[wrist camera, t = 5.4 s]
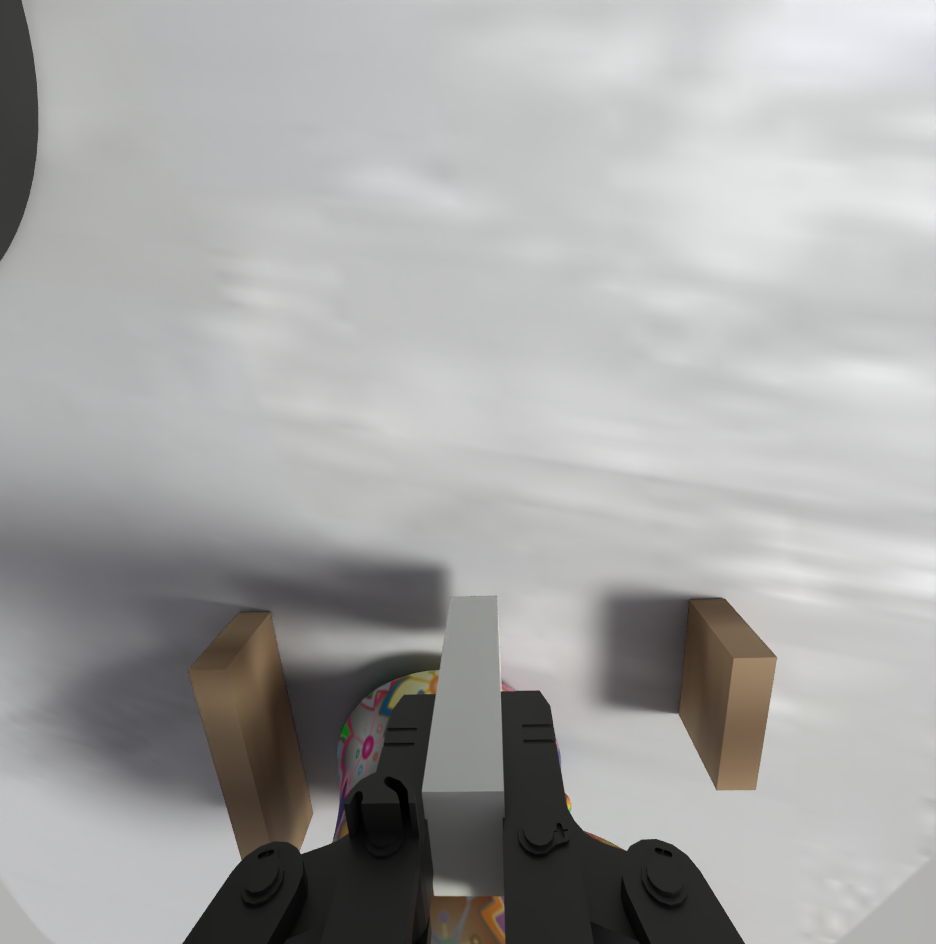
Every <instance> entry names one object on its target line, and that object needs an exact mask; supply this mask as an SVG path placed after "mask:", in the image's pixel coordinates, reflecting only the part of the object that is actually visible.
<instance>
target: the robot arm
mask: <svg viewBox="0 0 936 944" xmlns="http://www.w3.org/2000/svg"><path fill="white" fill-rule="evenodd" d="M37 140H38V97H37V82H36V74H35V66H34V58H33V52H32V46H31V41H30V36H29V30H28V26H27V22H26V18H25V13H24V9H23V5H22V1H21V0H0V261H1V259H2V257H3V256H4V254H5V253H6V251H7V249H8V248H9V246H10V244H11V242H12V240H13V238H14V236H15V234H16V232H17V229H18V227H19V224H20V222H21V219H22V217H23V214H24V211H25V208H26V204H27V201H28V198H29V194H30V189H31V185H32V180H33V176H34V169H35V161H36V154H37ZM383 744H384V745H383V747H382V751H381V755H380V758H379V762H378V766H377V770H376V772H375V773H372V774H370V775H369V776H367V777H365V778H363V779H361V780H360V781H359V782H358V783H357V784H356V785H355V786H354V787H353V788H352V789H351V790H350V792H349V793H348V795H347V797H346V799H345V801H344V803H343V805H344V810H345V816H346V821H347V826H348V832H349V833H348V834H346V835H345V836H344V837H342V838H341V839H339V840H338V841H335V842H333V843H331V844H329V845H326V846H324V847H321V848H318V849H315V850H312V851H309V852H307V853H304V854H300V852H299V850H298V848H297V847H295V846H294V845H292V844H290V843H289V842H278V841H274V842H271V843H268V844H265V845H262V846H260V847H258V848H257V849H255V850H254V851H253V852H251V853H250V854H248V855H247V856H245V857H244V859H243V860H242V861H241V862H240V863H239V864H238V865H237V866H236V868H235V869H234V870H233V871H232V873H231V874H230V875H229V877H228V878H227V880H226V881H225V883H224V884H223V886H222V887H221V888H220V890H219V891H218V893H217V894H216V896H215V897H214V899H213V900H212V902H211V903H210V904H209V906H208V907H207V909H206V910H205V912H204V913H203V915H202V916H201V918H200V919H199V920H198V922H197V923H196V925H195V926H194V928H193V929H192V931H191V932H190V933H189V935H188V936H187V938H186V939H185V941H184V942H183V944H431V935H432V931H431V917H430V904H431V894H432V885H433V890H434V896H504V913H505V944H745V943H744V941H743V940H742V938H741V937H740V935H739V933H738V932H737V930H736V928H735V927H734V925H733V924H732V922H731V920H730V919H729V917H728V915H727V914H726V912H725V911H724V909H723V907H722V906H721V904H720V903H719V901H718V899H717V898H716V896H715V894H714V893H713V891H712V890H711V888H710V886H709V885H708V883H707V881H706V880H705V878H704V877H703V875H702V873H701V872H700V870H699V869H698V868H697V867H696V865H695V864H694V863H693V862H692V860H691V859H690V858H689V857H688V856H687V855H686V854H685V853H683V852H682V851H681V850H679V849H678V848H676V847H675V846H674V845H672V844H669V843H666V842H663V841H660V840H657V839H648V840H640V841H639V842H637V843H635V844H633V845H631V846H630V847H629V849H628V851H625V850H622V849H620V848H617V847H614V846H611V845H608V844H605V843H603V842H601V841H599V840H596V839H594V838H592V837H591V836H590V835H588V834H587V833H586V832H584V831H583V830H582V829H581V828H580V827H579V825H578V824H577V823H576V822H575V821H574V819H573V817H572V816H571V814H570V812H569V809H568V806H567V803H566V798H565V792H564V786H563V780H562V774H561V768H560V762H559V756H558V750H557V744H556V738H555V732H554V728H553V720H552V714H551V708H550V705H549V704H548V702H547V701H546V699H545V698H544V696H543V695H542V694H541V692H540V691H502V686H501V661H500V642H499V622H498V603H497V596H470V597H450V603H449V610H448V616H447V623H446V630H445V637H444V644H443V650H442V657H441V664H440V671H439V678H438V684H437V691H436V694H409V695H403V696H402V698H401V699H400V700H399V702H398V703H397V704H396V706H395V707H394V708H393V710H392V712H391V716H390V720H389V724H388V727H387V732H386V735H385V739H384V743H383Z"/></svg>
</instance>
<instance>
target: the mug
mask: <svg viewBox="0 0 936 944" xmlns="http://www.w3.org/2000/svg"><path fill="white" fill-rule="evenodd" d="M439 671H440V670H432V671H424V672H418V673H414V674H409V675H406V676H403V677H400V678H397V679H395V680H393V681H390V682H388V683H386V684H384V685H382V686H381V687H379V688H377V689H376V690H374V691H373V692H371V693H370V694H369V695H367V696H366V697H365V698H364V699H363V700H362V701H361V702H360V703H359V704H358V705H357V706H356V707H355V709H354V710H353V711H352V713H351V714H350V716H349V717H348V719H347V720H346V722H345V724H344V726H343V728H342V731H341V733H340V737H339V741H338V747H337V768H338V774H339V778H340V804H339V812H338V818H337V824H336V829H335V833H334V838H333V842H335V841H338V840H339V839H341V838H342V837H344V836H345V835H346V834H348V833H349V832H348V826H347V821H346V816H345V810H344V805H343V803H344V801H345V799H346V797H347V795H348V793H349V792H350V790H351V789H352V788H353V787H354V786H355V785H356V784H357V783H358V782H359V781H360V780H361V779H363V778H365V777H367V776H369V775H370V774H372V773H375V772H376V770H377V766H378V762H379V758H380V755H381V751H382V747H383V745H384V744H383V743H384V739H385V735H386V732H387V727H388V724H389V720H390V716H391V712H392V710H393V708H394V707H395V706H396V704H397V703H398V702H399V700H400V699H401V698H402V696H403V695H409V694H436V691H437V684H438V678H439ZM501 686H502V691H515V690H514V689H512V688H510V687H508V686H506V685H505V684H503V683H501ZM556 744H557V750H558V756H559V762H560V768H561V756H560V751H559V746H558V743H557V740H556ZM565 798H566V803H567V806H568V809H569V812H570V811H571V802H570V799H569V797H568V796H567V795H566V794H565ZM584 832H585V831H584ZM586 833H587V834H588V835H590V836H591V837H592V838H594V839H596V840H599V841H601V842H603V843H605V844H608V845H611V846H614V847H617V848H620V847H618V846H616V845H614V844H613V843H611V842H609V841H607V840H604V839H602V838H600V837H598V836H595V835H593V834H591V833H588V832H586ZM333 842H332V843H333ZM620 849H622V848H620ZM622 850H623V849H622ZM430 917H431V931H432V935H431V944H505V913H504V896H434V890H433V885H432V894H431V904H430Z"/></svg>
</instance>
